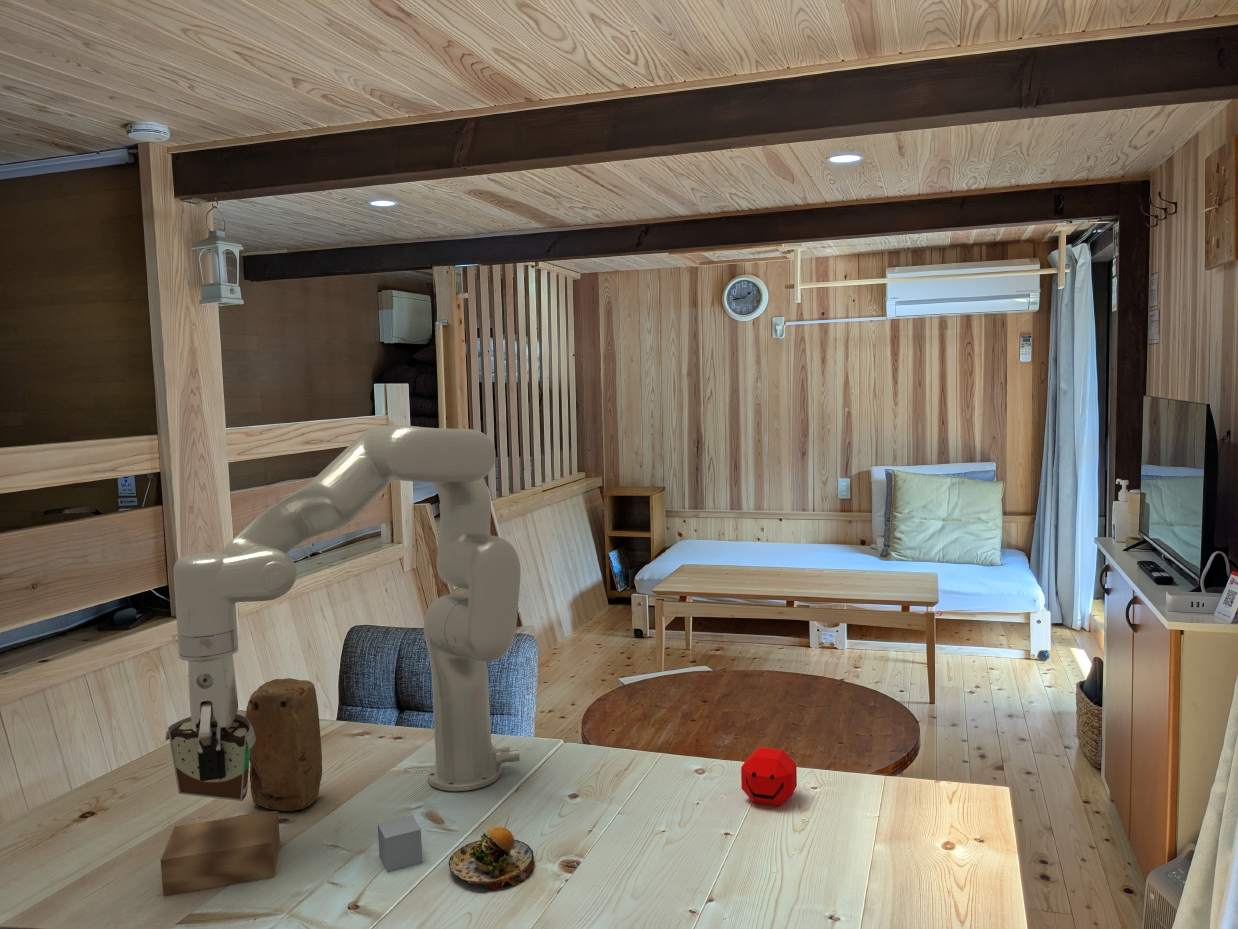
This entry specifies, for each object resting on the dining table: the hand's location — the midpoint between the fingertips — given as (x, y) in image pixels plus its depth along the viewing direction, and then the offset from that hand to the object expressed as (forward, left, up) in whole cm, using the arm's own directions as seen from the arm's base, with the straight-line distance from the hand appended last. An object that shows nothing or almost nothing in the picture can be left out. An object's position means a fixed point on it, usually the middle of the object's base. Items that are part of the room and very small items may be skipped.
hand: (216, 767), depth 127 cm
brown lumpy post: (-7, -19, -15) cm, 25 cm away
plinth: (0, 0, -15) cm, 15 cm away
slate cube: (-24, +6, -15) cm, 29 cm away
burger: (-36, +13, -15) cm, 41 cm away
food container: (0, -2, -3) cm, 4 cm away
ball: (-81, +7, -15) cm, 83 cm away
